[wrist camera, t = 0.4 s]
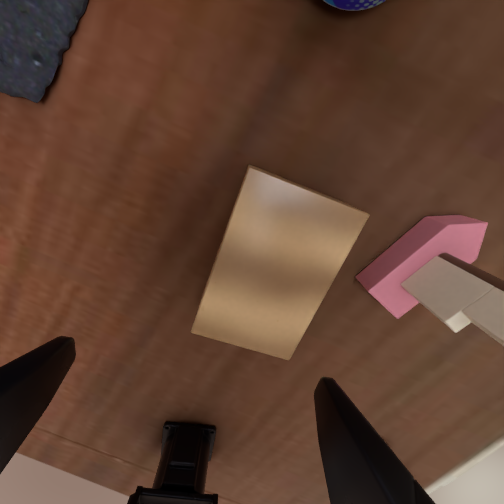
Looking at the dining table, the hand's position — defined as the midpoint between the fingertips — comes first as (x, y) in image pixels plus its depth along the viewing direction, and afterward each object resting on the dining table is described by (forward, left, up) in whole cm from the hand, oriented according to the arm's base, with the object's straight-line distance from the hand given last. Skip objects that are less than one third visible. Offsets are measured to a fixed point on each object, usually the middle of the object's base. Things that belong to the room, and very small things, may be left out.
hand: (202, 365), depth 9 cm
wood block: (-1, -4, -14) cm, 15 cm away
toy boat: (+1, -17, -14) cm, 22 cm away
